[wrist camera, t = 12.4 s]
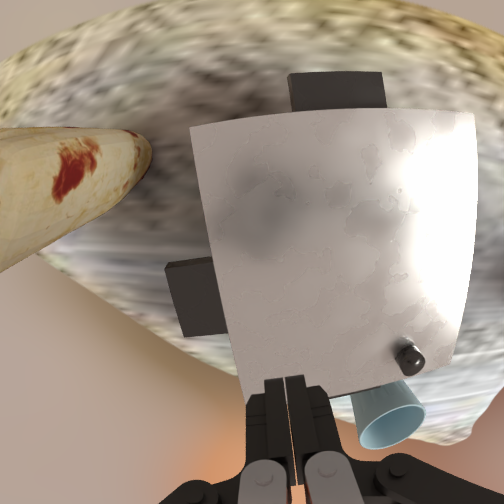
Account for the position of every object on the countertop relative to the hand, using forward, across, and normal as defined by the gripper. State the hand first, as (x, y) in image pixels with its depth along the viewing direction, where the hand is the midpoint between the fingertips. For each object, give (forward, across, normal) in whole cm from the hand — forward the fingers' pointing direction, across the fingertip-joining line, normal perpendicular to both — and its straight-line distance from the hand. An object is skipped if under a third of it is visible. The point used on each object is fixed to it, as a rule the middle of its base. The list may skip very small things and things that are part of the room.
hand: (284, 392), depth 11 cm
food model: (+19, +12, -9) cm, 25 cm away
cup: (+20, -11, +19) cm, 29 cm away
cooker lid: (+9, -4, 0) cm, 10 cm away
